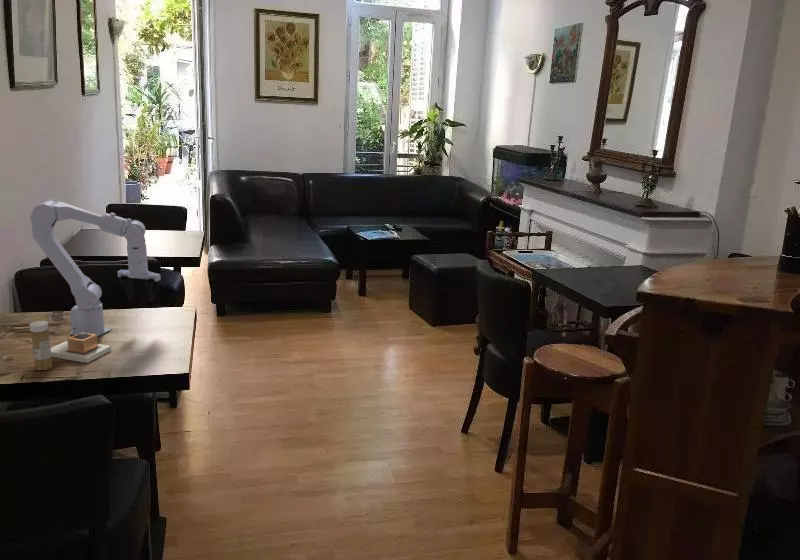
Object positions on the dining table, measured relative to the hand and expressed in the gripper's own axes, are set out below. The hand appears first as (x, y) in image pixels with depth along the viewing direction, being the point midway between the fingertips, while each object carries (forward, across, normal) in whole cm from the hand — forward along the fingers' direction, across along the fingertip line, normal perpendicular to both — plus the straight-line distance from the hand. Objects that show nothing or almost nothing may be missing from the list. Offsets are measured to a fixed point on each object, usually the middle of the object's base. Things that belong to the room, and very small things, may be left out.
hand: (141, 299), depth 213 cm
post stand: (+10, -6, -23) cm, 26 cm away
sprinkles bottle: (+10, -7, -35) cm, 37 cm away
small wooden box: (+9, -4, -23) cm, 25 cm away
